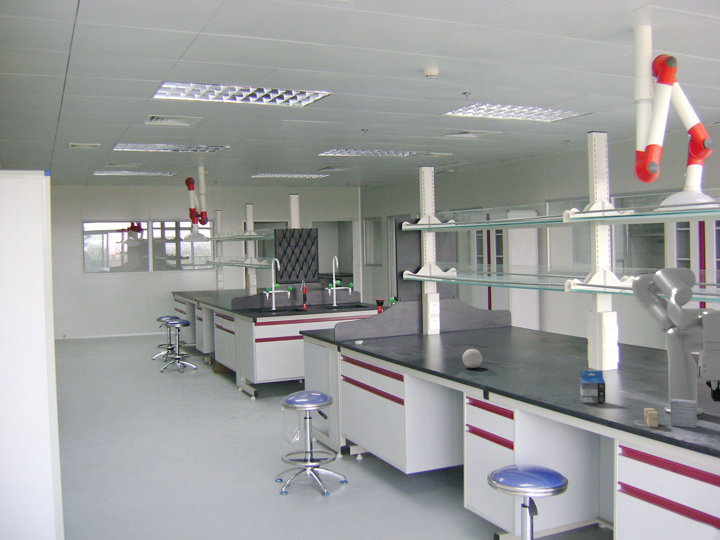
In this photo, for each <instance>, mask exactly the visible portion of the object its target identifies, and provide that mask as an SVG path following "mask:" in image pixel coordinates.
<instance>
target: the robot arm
mask: <svg viewBox="0 0 720 540" xmlns="http://www.w3.org/2000/svg"><path fill="white" fill-rule="evenodd" d="M696 278H697V277H696V274H695V272H693V270H692V269H690V268H687V267H664V268H660V269H659V270H657V271H656V272H655V273H645V274H641V275H637V276H635V278H634V279H633V281H632V285H631V288H632V293H633V296H634V299H635V300H636V302H637V303H638V304H639V306H640V307H641V308H642V309H643V310H645V311H646V313H648V315H649V316H650V318H651V320H653V322H654V324H655V325H656V326H657V327H658V329H659V330H660V331H661V332H662V333H664V334H665V335H664V342H665V346H666V351H667V352H666V353H667V362H668V363H667V365H668V367H667V368H668V369H667V370H668V379H667V380H668V405H665V406H663V407H664V408H663V410H664V412H666V413H668V414H671V412H670V401H671V399H683V400H694V401H696V402H697V403H698V383H699V384H702V385H706V386H707V387H708V388H709V389H710V398H711V400H712V401H714V402H715V403H716V402H718V403H720V309H719V310H718V309H713V308H710V307H709V308H705V307H704V308H683V307H684V306H685V305H687V304H688V303H690V301H691V300H692V298H693V295H694V292H693V288H694V287H695V285H696V283H697V279H696ZM660 295H664V296H665V297H666V298H667V300H668V301H667V300H666V299H665V298H664V297H662V296H660ZM691 353H699V354H698V363H697V362H696V360H695V359H694V358H693V356H692V354H691ZM716 382H717V384H716ZM702 414H703V409H702V408H700V407H698V406H697V416H700V415H702Z"/></svg>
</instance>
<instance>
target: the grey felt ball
mask: <svg viewBox="0 0 720 540" xmlns="http://www.w3.org/2000/svg"><path fill="white" fill-rule="evenodd" d="M482 361H483V355H482V354H481V352H480V351H479V350H478V349H474V348H469V349H467V350H466V351H464V352H463V354H462V363H463V365H464V366H466V367H467V368H469V369H476V368H478V367H479V366H481V364H482Z"/></svg>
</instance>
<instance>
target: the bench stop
mask: <svg viewBox="0 0 720 540" xmlns="http://www.w3.org/2000/svg"><path fill="white" fill-rule="evenodd" d="M643 412H644V413H643V415H644V417H643V419H644V422H643V423H644V424H645V425H646V426H647V427H648V428H658V427H659V416H658V415H659V414H658V411H656V409H655V408H651V407H650V408H649V407H646V408H645V407H644V408H643Z"/></svg>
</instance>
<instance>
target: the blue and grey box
mask: <svg viewBox="0 0 720 540" xmlns="http://www.w3.org/2000/svg"><path fill="white" fill-rule="evenodd" d="M579 372H580V379H579V381H580V382H579V385H580V387H579V389H580V390H579V391H580V392H579V393H580V394H579V395H580V397H579V399H580V402H581V403H582V404H606V382H605V380H604V378H603V377H604V376H603V371H602V370H580V371H579Z"/></svg>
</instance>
